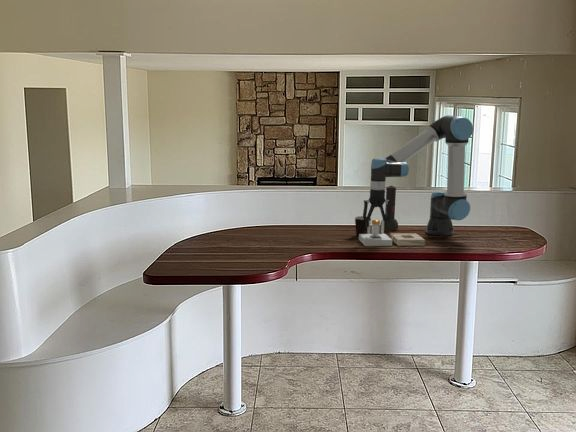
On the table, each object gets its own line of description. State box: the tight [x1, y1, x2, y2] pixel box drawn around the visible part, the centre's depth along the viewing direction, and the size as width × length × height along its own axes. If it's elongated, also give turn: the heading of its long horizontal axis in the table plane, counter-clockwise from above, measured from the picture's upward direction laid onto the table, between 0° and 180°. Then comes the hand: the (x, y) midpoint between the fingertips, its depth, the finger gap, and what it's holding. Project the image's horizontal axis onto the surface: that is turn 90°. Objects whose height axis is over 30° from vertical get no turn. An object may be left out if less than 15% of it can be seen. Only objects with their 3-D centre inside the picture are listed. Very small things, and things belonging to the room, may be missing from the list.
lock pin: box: [370, 219, 381, 238], centre depth 327 cm, size 4×4×12 cm
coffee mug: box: [354, 215, 372, 238], centre depth 341 cm, size 12×9×10 cm
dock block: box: [389, 232, 426, 247], centre depth 330 cm, size 14×14×3 cm
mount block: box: [358, 233, 393, 247], centre depth 328 cm, size 14×14×3 cm
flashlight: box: [380, 185, 399, 232], centre depth 358 cm, size 10×25×10 cm
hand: (375, 233), depth 327 cm, fingers open, 6 cm apart
